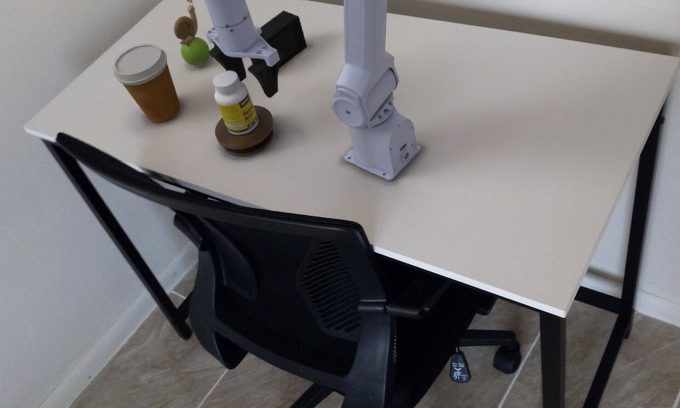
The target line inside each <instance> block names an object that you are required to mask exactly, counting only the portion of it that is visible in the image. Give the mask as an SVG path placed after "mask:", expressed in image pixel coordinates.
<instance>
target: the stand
mask: <svg viewBox="0 0 680 408" xmlns="http://www.w3.org/2000/svg"><path fill="white" fill-rule="evenodd" d="M253 106H254V109H255V111H256V114H257V117H258V124H257V126H256V127H255V128H254V129H253V130H252V131H250V132H249V133H246V134H242V135H235V134H232V133H230V132H229V131H228V129H227V127H226V125H225V122H224V120H223V117H222V116H221V117H220V119H219V120H218V121H217V124H216V125H215V127H214V136H215V138H216V140H217V142H218V144H219V145H220V146H222V147H223V149H224V150H225V152H226V153H227V154H229V155H231V156H234V157H238V158H240V157H241V158H242V157H243V158H245V157H250V156H254V155H256V154H259V153H261V152H262V151H264V150H265V149H266V148H268V146H270V145H271V143H272V142H273V140H274V137H275V128H274V126H275V121H274V117H273V114H272V113H271V111H270V110H269V108H266V107H264V106H262V105H257V104H253Z"/></svg>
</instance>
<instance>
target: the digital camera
mask: <svg viewBox="0 0 680 408" xmlns="http://www.w3.org/2000/svg"><path fill="white" fill-rule="evenodd" d="M259 28H261V31H262V33H261V34H260V36H261V37H262V38H263V39H264V40H265V41H266V42H267V43H268V44H269V45H270V46H271V47H272V48H274V49H276V50H277V51H278V52H280V53H281V55H282V59H281V62H280V66H279V69H281V68H282V67H284V66H285V65H286V64H288V63H289V62H290V61H291V60H293V59H294V58H295V57H296V56H297V55H299V54H300V53H301V52H303V51H304V50H305V49H306V48H308V45H307V41H306V37H305V34H304V29H303V25H302V22H301V19H300V16H299V15H296V14H295V13H291V12H289V11H286V10H282V11H281V12H279V13H277V15H275V16H274V17H273V18H271V19H270V20H268V21H267V22H266V23H264V24H263V25H261V26H260V27H259ZM249 60H250V61H251V65H252V64H253V63H255V62H257V60H256V58H249Z"/></svg>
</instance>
